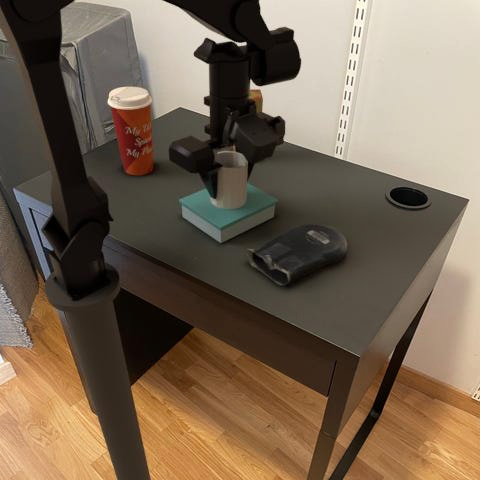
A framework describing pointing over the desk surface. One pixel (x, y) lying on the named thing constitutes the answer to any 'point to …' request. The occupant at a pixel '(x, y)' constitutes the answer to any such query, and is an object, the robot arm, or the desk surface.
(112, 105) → the paper cup
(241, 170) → the beige cup
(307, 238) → the black pouch
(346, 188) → the desk surface
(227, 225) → the teal flat box
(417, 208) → the desk surface
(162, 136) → the desk surface
